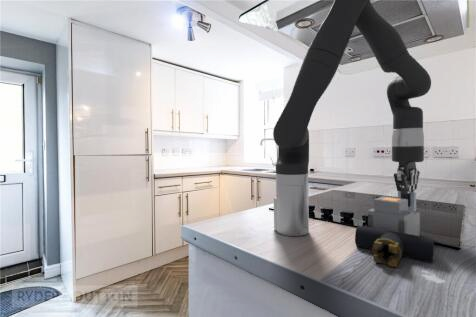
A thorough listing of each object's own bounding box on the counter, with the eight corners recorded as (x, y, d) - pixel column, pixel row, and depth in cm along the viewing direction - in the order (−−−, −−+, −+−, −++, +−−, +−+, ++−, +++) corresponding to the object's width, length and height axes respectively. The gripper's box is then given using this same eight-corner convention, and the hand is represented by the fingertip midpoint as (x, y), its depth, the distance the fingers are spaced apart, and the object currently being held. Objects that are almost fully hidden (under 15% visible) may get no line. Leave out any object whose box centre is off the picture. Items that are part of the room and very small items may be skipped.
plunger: (380, 210, 64) (380, 199, 64) (385, 207, 67) (385, 197, 67) (395, 212, 62) (395, 201, 62) (401, 210, 64) (401, 199, 64)
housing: (368, 240, 66) (368, 199, 65) (385, 231, 73) (385, 193, 72) (403, 250, 59) (404, 204, 59) (419, 238, 66) (419, 197, 66)
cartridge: (379, 234, 67) (379, 195, 67) (396, 226, 75) (396, 190, 74) (405, 241, 63) (405, 199, 62) (420, 230, 70) (420, 193, 70)
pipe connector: (430, 250, 47) (346, 234, 56) (430, 278, 47) (346, 257, 56) (433, 235, 55) (360, 223, 65) (433, 258, 56) (360, 243, 65)
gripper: (414, 144, 64) (414, 212, 64) (430, 144, 72) (430, 204, 73) (383, 145, 70) (382, 207, 70) (401, 145, 78) (400, 200, 79)
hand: (406, 205), depth 72 cm, fingers closed on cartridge
